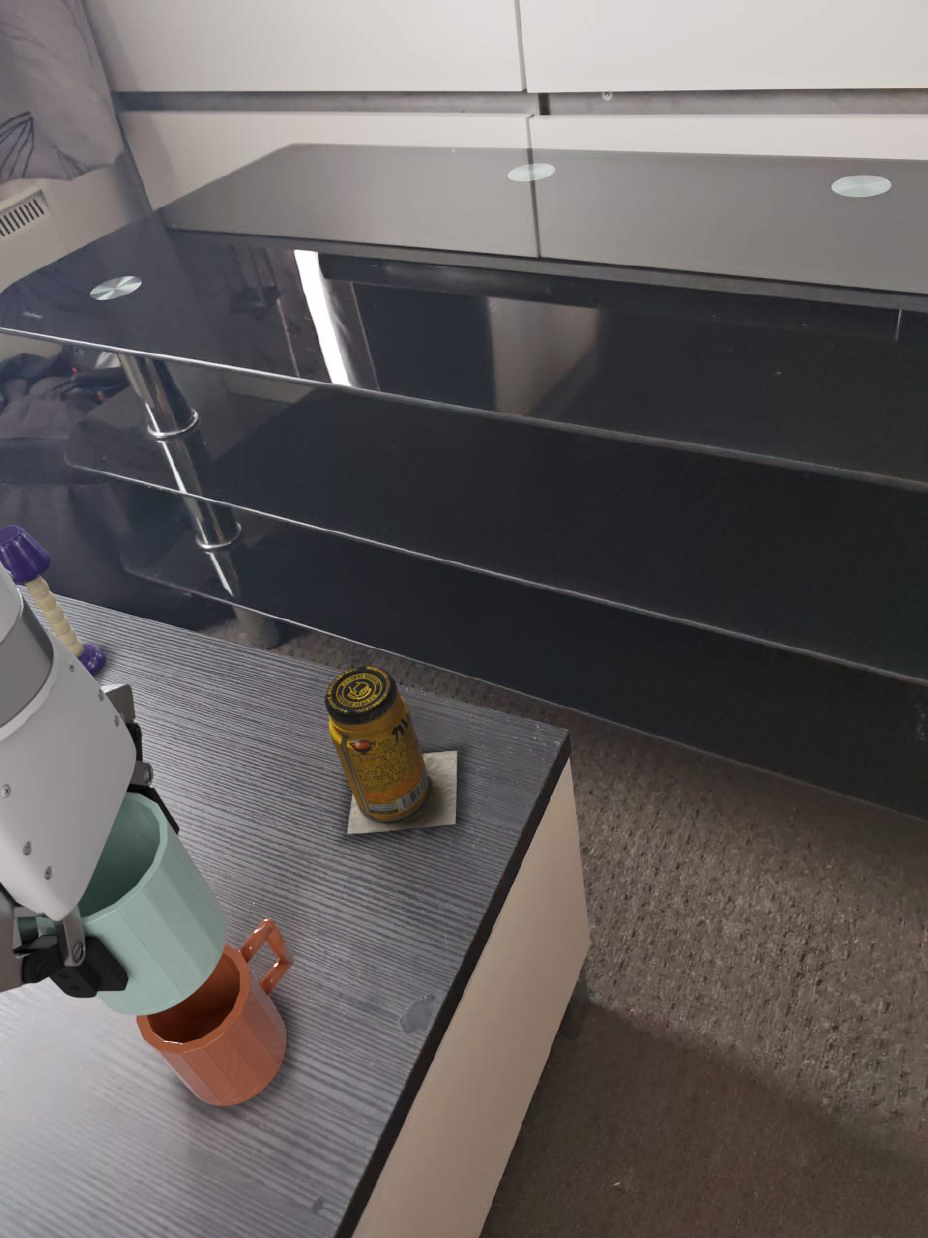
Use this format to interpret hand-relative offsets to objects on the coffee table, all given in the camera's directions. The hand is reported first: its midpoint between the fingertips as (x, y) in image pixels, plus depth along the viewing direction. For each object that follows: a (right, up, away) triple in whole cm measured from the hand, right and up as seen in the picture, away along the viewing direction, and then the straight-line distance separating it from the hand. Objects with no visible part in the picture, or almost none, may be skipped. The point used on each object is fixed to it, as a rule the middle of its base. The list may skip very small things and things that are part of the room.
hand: (127, 905), depth 47 cm
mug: (+3, -12, +13) cm, 18 cm away
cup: (+1, -3, +3) cm, 4 cm away
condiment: (+13, +1, +25) cm, 29 cm away
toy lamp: (-20, +10, +43) cm, 48 cm away
